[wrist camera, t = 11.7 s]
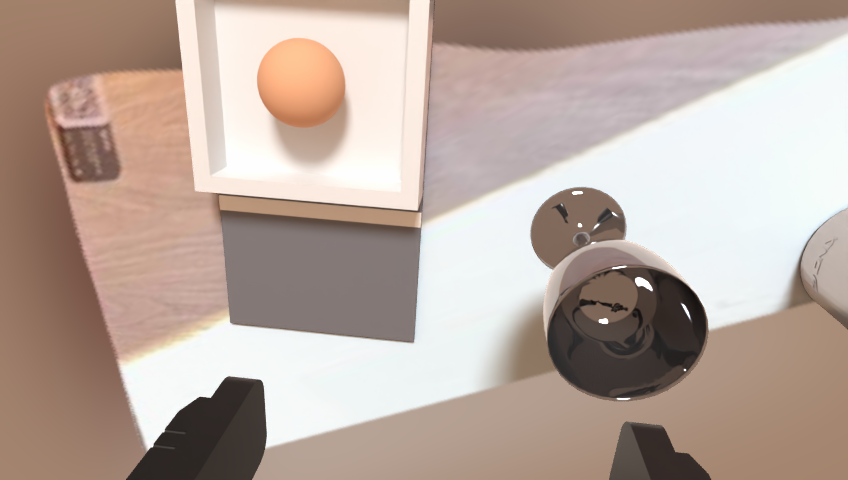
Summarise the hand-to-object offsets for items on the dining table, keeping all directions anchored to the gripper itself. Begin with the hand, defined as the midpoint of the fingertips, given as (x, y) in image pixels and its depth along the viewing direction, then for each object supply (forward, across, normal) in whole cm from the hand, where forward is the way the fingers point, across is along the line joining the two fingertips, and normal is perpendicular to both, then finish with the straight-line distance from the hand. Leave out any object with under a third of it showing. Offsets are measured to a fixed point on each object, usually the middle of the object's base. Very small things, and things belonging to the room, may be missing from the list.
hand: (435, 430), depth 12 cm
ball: (+26, +11, -4) cm, 29 cm away
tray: (+30, +11, -4) cm, 32 cm away
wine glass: (+30, -9, +6) cm, 32 cm away
